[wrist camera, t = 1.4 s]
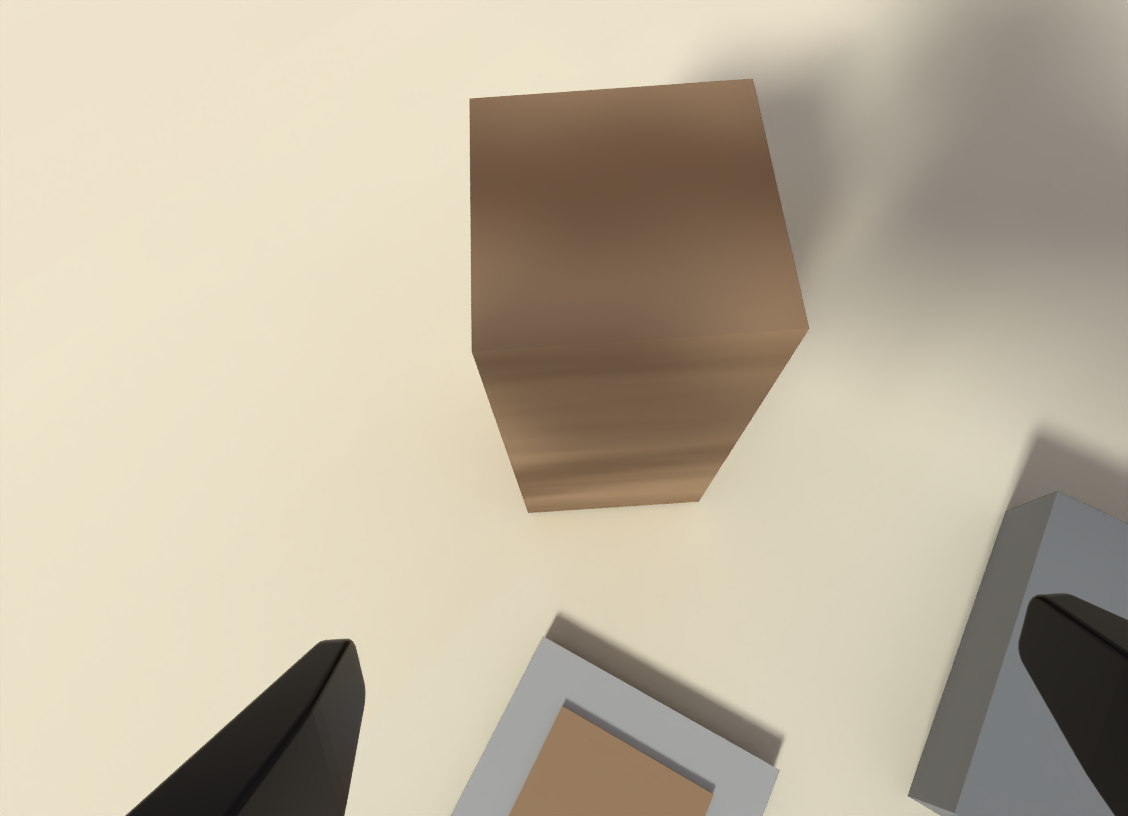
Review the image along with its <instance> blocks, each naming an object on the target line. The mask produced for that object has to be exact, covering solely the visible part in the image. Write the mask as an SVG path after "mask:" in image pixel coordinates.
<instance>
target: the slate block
mask: <svg viewBox="0 0 1128 816" xmlns="http://www.w3.org/2000/svg"><path fill="white" fill-rule="evenodd" d="M1052 593H1067V594H1071V595H1074V596H1076V597H1078V598H1080V599H1083V600H1085V601H1087V602H1089V603H1091V604H1094V605H1096V606H1098V607H1100V608H1103V609H1105V610H1107V611H1109V612H1111V613H1114V614H1116V615H1118V616H1120V617H1123V618H1125V619H1127V620H1128V524H1127V523H1125V522H1123V521H1121V520H1118V519H1116V518H1114V517H1112V516H1110V515H1108V514H1106V513H1104V512H1101V511H1099V510H1097V509H1095V508H1093V507H1091V506H1089V505H1087V504H1084V503H1082V502H1080V501H1078V500H1076V499H1074V498H1072V497H1070V496H1067V495H1065V494H1063V493H1061V492H1059V491H1056V492H1054V493H1051V494H1049V495H1046V496H1044V497H1041V498H1038V499H1036V500H1033V501H1031V502H1028V503H1026V504H1023V505H1021V506H1018V507H1016V508H1013V509H1011V510H1008V511H1006V512H1005V515H1004V518H1003V521H1002V524H1001V527H1000V530H999V533H998V536H997V539H996V541H995V544H994V547H993V550H992V553H991V556H990V559H989V562H988V565H987V568H986V570H985V573H984V576H983V579H982V582H981V585H980V588H979V591H978V594H977V597H976V600H975V602H974V605H973V608H972V611H971V614H970V617H969V620H968V623H967V626H966V629H965V631H964V634H963V637H962V640H961V643H960V646H959V649H958V652H957V655H956V658H955V660H954V663H953V666H952V669H951V672H950V675H949V678H948V681H947V684H946V687H945V689H944V692H943V695H942V698H941V701H940V704H939V707H938V710H937V713H936V716H935V718H934V721H933V724H932V727H931V730H930V733H929V736H928V739H927V742H926V745H925V748H924V750H923V753H922V756H921V759H920V762H919V765H918V768H917V771H916V774H915V777H914V779H913V782H912V785H911V788H910V791H909V794H908V796H909V797H910V798H912V799H914V800H915V801H917V802H919V803H920V804H922V805H924V806H925V807H927V808H929V809H931V810H932V811H934V812H936V813H937V814H939V815H941V816H1114V814H1113V813H1112V811H1111V810H1110V809H1109V807H1108V806H1107V804H1106V803H1105V801H1104V800H1103V798H1102V797H1101V796H1100V794H1099V793H1098V791H1097V790H1096V788H1095V787H1094V785H1093V783H1092V782H1091V780H1090V779H1089V777H1088V776H1087V774H1086V773H1085V771H1084V769H1083V768H1082V766H1081V764H1080V763H1079V761H1078V760H1077V758H1076V756H1075V755H1074V753H1073V751H1072V749H1071V748H1070V746H1069V744H1068V742H1067V740H1066V739H1065V737H1064V735H1063V733H1062V732H1061V730H1060V728H1059V726H1058V725H1057V723H1056V721H1055V719H1054V718H1053V716H1052V714H1051V712H1050V711H1049V709H1048V707H1047V705H1046V704H1045V702H1044V700H1043V698H1042V697H1041V695H1040V693H1039V691H1038V690H1037V688H1036V686H1035V684H1034V682H1033V681H1032V679H1031V677H1030V675H1029V674H1028V672H1027V670H1026V668H1025V667H1024V665H1023V663H1022V661H1021V658H1020V655H1019V650H1018V641H1019V637H1020V633H1021V629H1022V625H1023V621H1024V617H1025V613H1026V609H1027V606H1028V603H1029V601H1030V599H1031V598H1032V597H1033V596H1035V595H1039V594H1052Z"/></svg>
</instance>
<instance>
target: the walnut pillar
mask: <svg viewBox="0 0 1128 816" xmlns="http://www.w3.org/2000/svg"><path fill="white" fill-rule="evenodd" d="M470 203H471V320H472V354H473V356H474V359H475V362H476V365H477V368H478V371H479V374H480V376H481V379H482V382H483V385H484V388H485V391H486V394H487V396H488V399H489V402H490V405H491V408H492V411H493V414H494V416H495V419H496V422H497V425H498V428H499V431H500V434H501V436H502V439H503V442H504V445H505V448H506V451H507V453H508V456H509V459H510V462H511V465H512V468H513V471H514V473H515V476H516V479H517V482H518V485H519V488H520V491H521V493H522V496H523V499H524V502H525V505H526V508H527V511H528V513H533V512H548V511H563V510H578V509H593V508H608V507H623V506H638V505H653V504H669V503H684V502H699V500H700V499H701V497H702V496H703V494H704V492H705V491H706V489H707V488H708V486H709V485H710V483H711V481H712V480H713V478H714V477H715V475H716V474H717V472H718V470H719V469H720V467H721V466H722V464H723V463H724V461H725V460H726V458H727V456H728V455H729V453H730V452H731V450H732V449H733V447H734V445H735V444H736V442H737V441H738V439H739V438H740V436H741V434H742V433H743V431H744V430H745V428H746V427H747V425H748V424H749V422H750V420H751V419H752V417H753V416H754V414H755V413H756V411H757V409H758V408H759V406H760V405H761V403H762V402H763V400H764V398H765V397H766V395H767V394H768V392H769V391H770V389H771V388H772V386H773V384H774V383H775V381H776V380H777V378H778V377H779V375H780V373H781V372H782V370H783V369H784V367H785V366H786V364H787V362H788V361H789V359H790V358H791V356H792V355H793V353H794V352H795V350H796V348H797V347H798V345H799V344H800V342H801V341H802V339H803V337H804V336H805V334H806V333H807V331H808V330H809V326H808V322H807V317H806V313H805V308H804V304H803V299H802V295H801V291H800V286H799V282H798V277H797V273H796V268H795V264H794V260H793V255H792V251H791V246H790V242H789V237H788V233H787V229H786V224H785V220H784V215H783V211H782V206H781V202H780V197H779V193H778V189H777V184H776V180H775V175H774V171H773V166H772V162H771V158H770V153H769V149H768V144H767V140H766V135H765V131H764V127H763V122H762V118H761V113H760V109H759V104H758V100H757V96H756V91H755V87H754V82H753V79H743V80H729V81H715V82H700V83H686V84H672V85H658V86H643V87H629V88H615V89H600V90H586V91H572V92H558V93H543V94H529V95H515V96H500V97H486V98H472V99H470Z"/></svg>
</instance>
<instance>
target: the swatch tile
mask: <svg viewBox="0 0 1128 816" xmlns="http://www.w3.org/2000/svg"><path fill="white" fill-rule="evenodd" d="M778 773H779V769H777V768H775V767H773V766H772V765H770V764H768V763H766V762H765V761H763V760H761V759H759V758H757V757H756V756H754V755H752V754H750V753H749V752H747V751H745V750H743V749H742V748H740V747H738V746H736V745H734V744H733V743H731V742H729V741H727V740H726V739H724V738H722V737H720V736H719V735H717V734H715V733H713V732H711V731H710V730H708V729H706V728H704V727H703V726H701V725H699V724H697V723H696V722H694V721H692V720H690V719H688V718H687V717H685V716H683V715H681V714H680V713H678V712H676V711H674V710H673V709H671V708H669V707H667V706H665V705H664V704H662V703H660V702H658V701H657V700H655V699H653V698H651V697H650V696H648V695H646V694H644V693H642V692H641V691H639V690H637V689H635V688H634V687H632V686H630V685H628V684H627V683H625V682H623V681H621V680H619V679H618V678H616V677H614V676H612V675H611V674H609V673H607V672H605V671H604V670H602V669H600V668H598V667H597V666H595V665H593V664H591V663H589V662H588V661H586V660H584V659H582V658H581V657H579V656H577V655H575V654H574V653H572V652H570V651H568V650H566V649H565V648H563V647H561V646H559V645H558V644H556V643H554V642H552V641H551V640H549V639H547V638H545V637H543V638H542V640H541V642H540V644H539V646H538V648H537V650H536V652H535V654H534V655H533V657H532V659H531V661H530V663H529V665H528V667H527V669H526V671H525V673H524V675H523V677H522V679H521V681H520V683H519V685H518V687H517V688H516V690H515V692H514V694H513V696H512V698H511V700H510V702H509V704H508V706H507V708H506V710H505V712H504V714H503V716H502V718H501V720H500V721H499V723H498V725H497V727H496V729H495V731H494V733H493V735H492V737H491V739H490V741H489V743H488V745H487V747H486V749H485V751H484V753H483V754H482V756H481V758H480V760H479V762H478V764H477V766H476V768H475V770H474V772H473V774H472V776H471V778H470V780H469V782H468V784H467V786H466V788H465V789H464V791H463V793H462V795H461V797H460V799H459V801H458V803H457V805H456V807H455V809H454V811H453V813H452V815H451V816H763V814H764V811H765V808H766V806H767V803H768V800H769V797H770V795H771V792H772V789H773V787H774V784H775V781H776V778H777V776H778Z"/></svg>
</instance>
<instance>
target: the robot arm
mask: <svg viewBox="0 0 1128 816" xmlns="http://www.w3.org/2000/svg"><path fill="white" fill-rule="evenodd" d="M1018 650H1019V655H1020V658H1021V661H1022V663H1023V665H1024V667H1025V668H1026V670H1027V672H1028V674H1029V675H1030V677H1031V679H1032V681H1033V682H1034V684H1035V686H1036V688H1037V690H1038V691H1039V693H1040V695H1041V697H1042V698H1043V700H1044V702H1045V704H1046V705H1047V707H1048V709H1049V711H1050V712H1051V714H1052V716H1053V718H1054V719H1055V721H1056V723H1057V725H1058V726H1059V728H1060V730H1061V732H1062V733H1063V735H1064V737H1065V739H1066V740H1067V742H1068V744H1069V746H1070V748H1071V749H1072V751H1073V753H1074V755H1075V756H1076V758H1077V760H1078V761H1079V763H1080V764H1081V766H1082V768H1083V769H1084V771H1085V773H1086V774H1087V776H1088V777H1089V779H1090V780H1091V782H1092V783H1093V785H1094V787H1095V788H1096V790H1097V791H1098V793H1099V794H1100V796H1101V797H1102V798H1103V800H1104V801H1105V803H1106V804H1107V806H1108V807H1109V809H1110V810H1111V811H1112V813H1113V814H1114V816H1128V620H1127V619H1125V618H1123V617H1120V616H1118V615H1116V614H1114V613H1111V612H1109V611H1107V610H1105V609H1103V608H1100V607H1098V606H1096V605H1094V604H1091V603H1089V602H1087V601H1085V600H1083V599H1080V598H1078V597H1076V596H1074V595H1071V594H1067V593H1052V594H1039V595H1035V596H1033V597H1032V598H1031V599H1030V601H1029V603H1028V606H1027V609H1026V613H1025V617H1024V621H1023V625H1022V629H1021V633H1020V637H1019V641H1018ZM364 705H365V684H364V679H363V675H362V671H361V667H360V662H359V658H358V654H357V650H356V646H355V644H354V642H353V641H352V640H350V639H333V640H324V641H321V642H319V643H318V644H316V645H315V646H314V647H313V648H312V649H311V650H309V651H308V652H307V653H306V654H305V655H304V656H303V657H302V658H301V659H299V660H298V661H297V662H296V663H295V664H294V665H293V666H292V667H291V668H289V669H288V670H287V671H286V672H285V673H284V674H283V675H282V676H281V677H279V678H278V679H277V680H276V681H275V682H274V683H273V684H272V685H270V686H269V687H268V688H267V689H266V690H265V691H264V692H263V693H262V694H260V695H259V696H258V697H257V698H256V699H255V700H254V701H253V702H252V703H250V704H249V705H248V706H247V707H246V708H245V709H244V710H243V711H242V712H240V713H239V714H238V715H237V716H236V717H235V718H234V719H233V720H232V721H230V722H229V723H228V724H227V725H226V726H225V727H224V728H223V729H221V730H220V731H219V732H218V733H217V734H216V735H215V736H214V737H213V738H211V739H210V740H209V741H208V742H207V743H206V744H205V745H204V746H203V747H201V748H200V749H199V750H198V751H197V752H196V753H195V754H194V755H193V756H191V757H190V758H189V759H188V760H187V761H186V762H185V763H184V764H182V765H181V766H180V767H179V768H178V769H177V770H176V771H175V772H174V773H172V774H171V775H170V776H169V777H168V778H167V779H166V780H165V781H164V782H162V783H161V784H160V785H159V786H158V787H157V788H156V789H155V790H154V791H152V792H151V793H150V794H149V795H148V796H147V797H146V798H145V799H143V800H142V801H141V802H140V803H139V804H138V805H137V806H136V807H135V808H133V809H132V810H131V811H130V812H129V813H128V814H127V815H126V816H344V814H345V810H346V805H347V799H348V794H349V788H350V783H351V777H352V772H353V766H354V761H355V755H356V749H357V744H358V738H359V733H360V727H361V722H362V716H363V711H364Z"/></svg>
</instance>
